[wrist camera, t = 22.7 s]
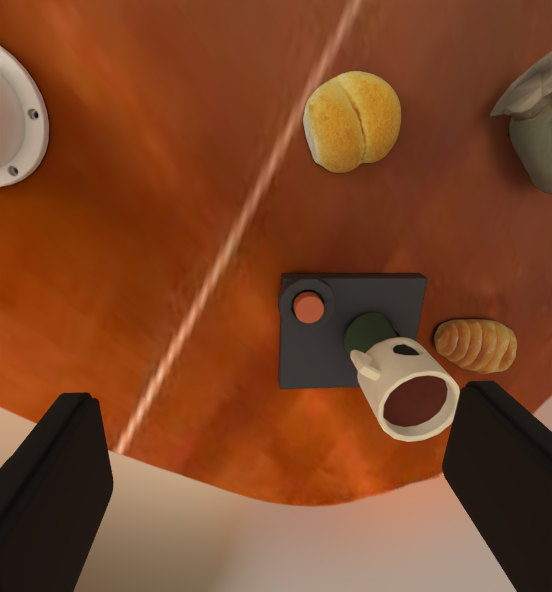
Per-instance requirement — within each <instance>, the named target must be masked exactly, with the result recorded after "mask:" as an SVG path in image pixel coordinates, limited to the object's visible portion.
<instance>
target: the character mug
mask: <svg viewBox="0 0 552 592" xmlns="http://www.w3.org/2000/svg"><path fill="white" fill-rule="evenodd" d="M390 320H391V322H392V323H393V325H394V326H395V328H396V331H395V330H394V328H393V327H392V326H391V325H390V324H389V322H388V321H387V319H386V318H385V317H384V315H383V314H381V313H367V314H364V315H362V316H359V317H357V318H356V319H355V320H354V321H353V322H352V323H351V325H350V326H349V327H348V329H347V331H346V334H345V336H344V348H345V350H346V351H347V353H348V354H349V356H350V358H351V360H352V362H353V363H354V365H355V367H356V369H357V370H358V375H357V378H358V382H359V384H360V386H361V388H362V391H363V393H364V394H365V396H366V398H367V400H368V402H369V404H370V406H371V408H372V410H373V412H374V414H375V416H376V418H377V420H378V422H379V424H380V426H381V427H382V429H383V431H385V432H386V433H387V434H389V435H390V436H391V437H393V438H394V439H398V440H403V441H407V442H410V441H419V440H425V439H427V438H430V437H432V436H434V435H437V434H439V433H440V432H441V431H443V430H444V429H445V428H446V427H447V426H449V425H450V424H451V423H452V421H453V419H454V415H455V411H456V406H457V402H458V398H459V394H460V391H459V387H458V385H457V384H456V382H455V381H454V380H453V379H452V377H451V376H450V375H449V374H448V373H447V372H446V371H445V370H444V369H443V368H442V367H441V366H440V365H439V364H438V363H437V361H436V360H435V359H434V358H433V357H432V356H431V355H430V354H429V353H428V352H427V351H426V350H425V349H424V348H423V347H422V346H421V345H420V344H419V343H417V342H416V341H414V340H412V339H410V338H404V337H402V335H401V334H400V332H399V330H398V329H397V327H396V325H395V324H394V322H393V321H392V319H390Z"/></svg>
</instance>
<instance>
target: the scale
mask: <svg viewBox="0 0 552 592" xmlns="http://www.w3.org/2000/svg"><path fill="white" fill-rule="evenodd" d="M426 283H427V278H426V277H424V276H423V275H421V274H420V273H348V274H282V280H281V291H280V293H279V304H278V307H279V312H280V346H279V379H278V380H279V387H280V389H300V388H334V387H361V386H360V384H359V382H358V378H357V375H358V370H357V369H356V367H355V365H354V363H353V362H352V360H351V358H350V356H349V354H348V353H347V351H346V350H345V348H344V336H345V334H346V331H347V329H348V327H349V326H350V325H351V323H352V322H353V321H354V320H355V319H356V318H357V317H359V316H362V315H364V314H367V313H381V314H383V315H384V317H385V318H386V319H387V321H388V322H389V324H390V325H391V326H392V327H393V328H394V330H395V331H396V328H395V326H394V325H393V323H392V322H391V320H390V319H392V321H393V322H394V324H395V325H396V327H397V329H398V330H399V332H400V334H401V335H402V337H404V338H410V339H412V340H414V341H416V337H417V332H418V327H419V321H420V316H421V310H422V305H423V299H424V294H425V288H426ZM303 292H313V293H315V294H317V295H318V296H319V298H320V299H321V301H322V303H323V305H324V312H323V315H322V317H321V318H320V319H319V320H317V321H316V322H313V323H304V322H302V321H300V320H299V319H298V318H297V316H296V314H295V311H294V308H293V304H294V300H295V298H296V297H297V296H298V295H299V294H301V293H303Z"/></svg>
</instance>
